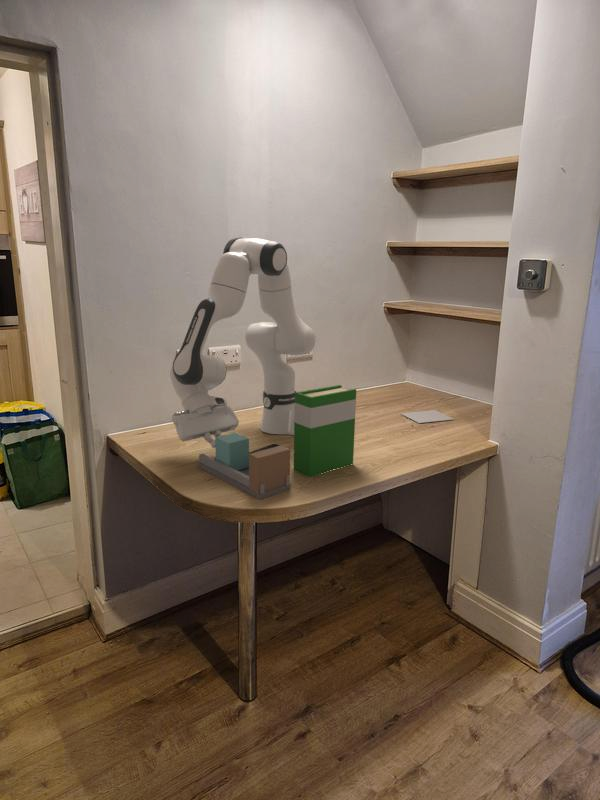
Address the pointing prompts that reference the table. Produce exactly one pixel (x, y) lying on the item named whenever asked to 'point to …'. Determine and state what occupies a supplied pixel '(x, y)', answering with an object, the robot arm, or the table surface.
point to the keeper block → (233, 450)
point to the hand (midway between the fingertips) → (217, 446)
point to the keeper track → (255, 472)
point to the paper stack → (427, 416)
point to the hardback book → (324, 429)
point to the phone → (265, 448)
